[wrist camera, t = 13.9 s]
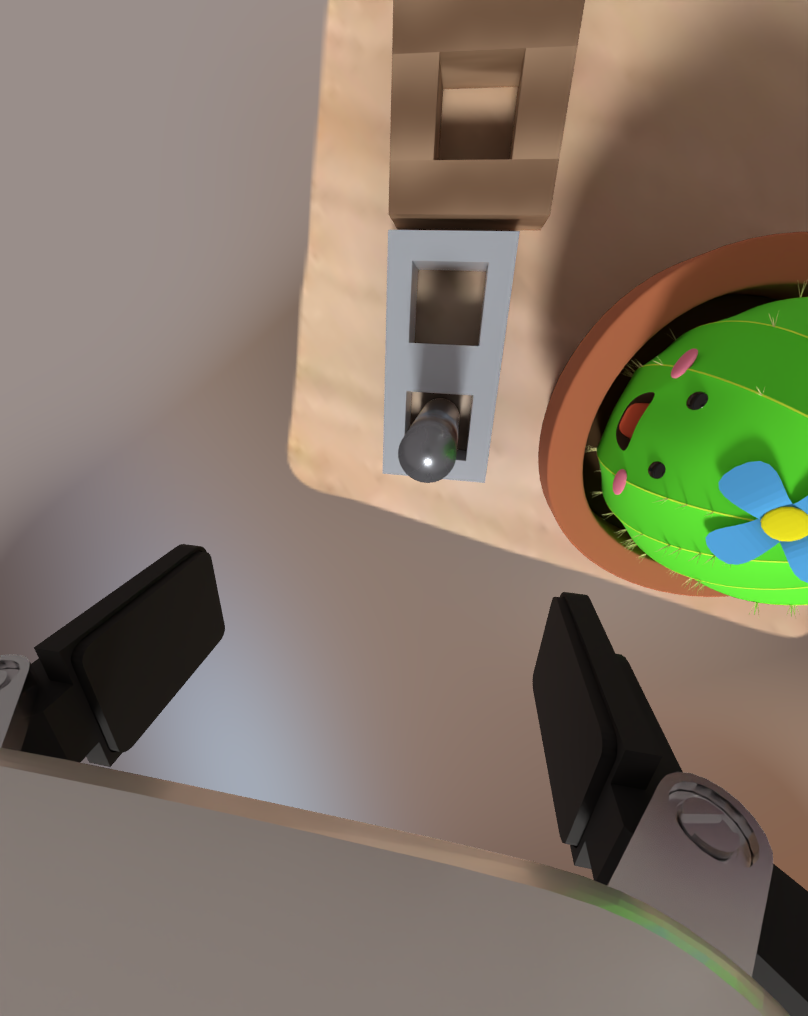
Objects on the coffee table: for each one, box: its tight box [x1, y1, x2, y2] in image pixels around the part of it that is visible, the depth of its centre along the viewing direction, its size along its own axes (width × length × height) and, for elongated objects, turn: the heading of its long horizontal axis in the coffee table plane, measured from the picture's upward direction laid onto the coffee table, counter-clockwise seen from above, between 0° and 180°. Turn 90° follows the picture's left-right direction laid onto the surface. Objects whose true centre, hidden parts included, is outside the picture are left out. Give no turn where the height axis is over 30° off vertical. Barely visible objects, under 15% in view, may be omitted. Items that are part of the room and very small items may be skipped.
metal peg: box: [398, 398, 460, 483], centre depth 32 cm, size 4×4×14 cm
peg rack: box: [383, 230, 520, 483], centre depth 35 cm, size 20×10×4 cm, turn 177°
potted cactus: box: [538, 232, 808, 617], centre depth 24 cm, size 22×22×25 cm
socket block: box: [389, 0, 585, 230], centre depth 28 cm, size 12×12×4 cm
